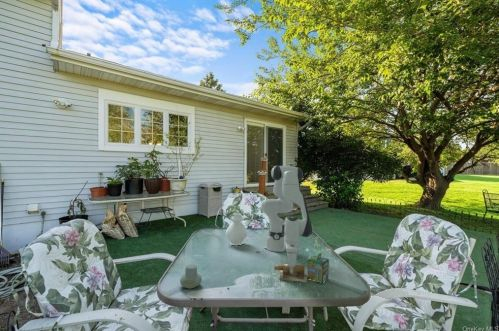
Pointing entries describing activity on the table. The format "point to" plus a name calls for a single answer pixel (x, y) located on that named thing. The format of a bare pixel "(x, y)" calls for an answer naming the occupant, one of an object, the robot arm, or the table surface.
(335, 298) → the table surface
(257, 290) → the table surface
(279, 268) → the amber bottle
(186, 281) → the air freshener
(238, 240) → the decorative vase
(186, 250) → the table surface
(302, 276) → the bottle rest
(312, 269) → the chalk box
